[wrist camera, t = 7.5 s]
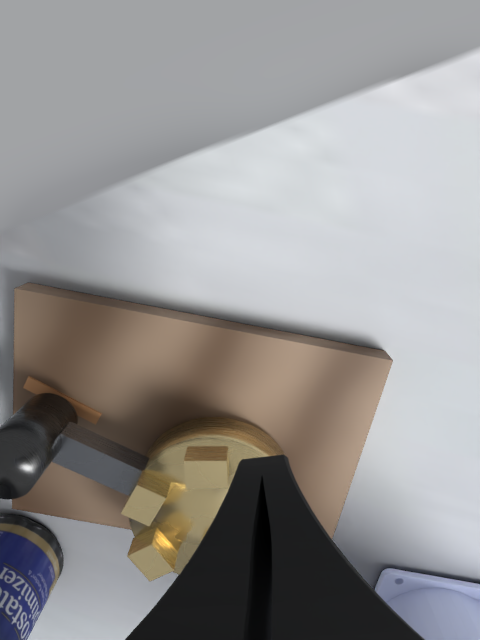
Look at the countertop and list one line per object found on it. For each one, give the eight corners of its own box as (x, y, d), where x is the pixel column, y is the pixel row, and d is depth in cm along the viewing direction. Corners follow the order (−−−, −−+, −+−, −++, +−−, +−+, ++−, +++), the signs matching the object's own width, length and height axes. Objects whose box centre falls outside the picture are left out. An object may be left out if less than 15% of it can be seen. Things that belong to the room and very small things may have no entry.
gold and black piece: (321, 459, 20) (340, 534, 16) (247, 561, 23) (245, 652, 18) (61, 331, 19) (0, 376, 14) (9, 456, 21) (-57, 528, 17)
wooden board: (385, 350, 20) (393, 361, 19) (320, 545, 24) (324, 565, 23) (28, 282, 20) (13, 288, 18) (23, 493, 24) (10, 510, 22)
